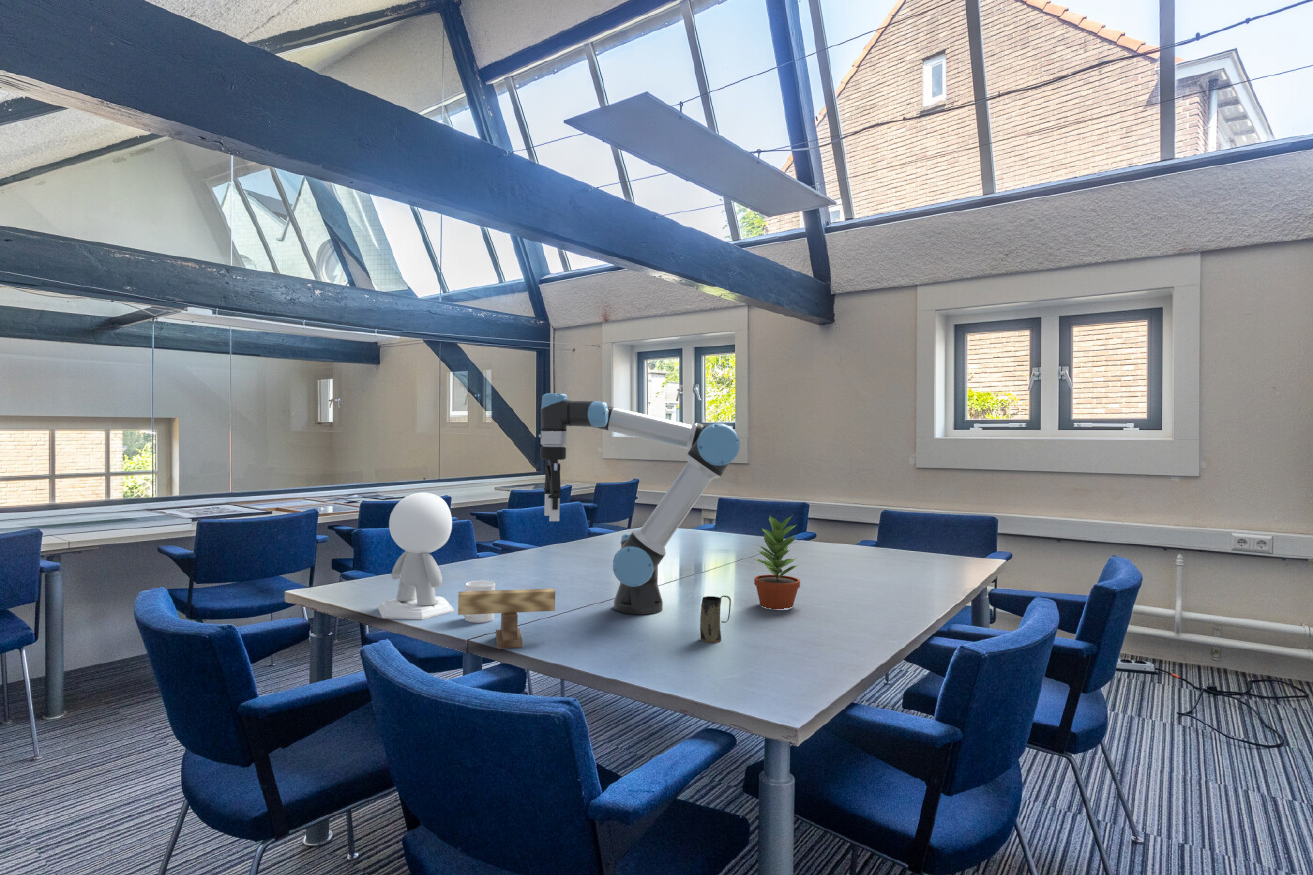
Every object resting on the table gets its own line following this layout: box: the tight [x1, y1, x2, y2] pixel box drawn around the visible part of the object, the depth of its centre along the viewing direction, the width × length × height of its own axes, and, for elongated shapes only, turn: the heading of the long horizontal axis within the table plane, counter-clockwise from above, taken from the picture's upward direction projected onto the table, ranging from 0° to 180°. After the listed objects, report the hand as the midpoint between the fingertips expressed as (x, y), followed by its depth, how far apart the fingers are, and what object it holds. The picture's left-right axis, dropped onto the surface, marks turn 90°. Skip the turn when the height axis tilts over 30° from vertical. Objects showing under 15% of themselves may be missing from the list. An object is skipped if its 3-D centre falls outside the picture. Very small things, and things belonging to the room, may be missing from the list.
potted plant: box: [753, 515, 801, 609], centre depth 221 cm, size 15×15×30 cm
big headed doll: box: [377, 492, 455, 621], centre depth 206 cm, size 20×23×35 cm
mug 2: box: [699, 595, 732, 644], centre depth 183 cm, size 8×6×12 cm
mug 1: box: [463, 580, 496, 624], centre depth 196 cm, size 12×8×10 cm
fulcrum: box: [495, 612, 523, 650], centre depth 177 cm, size 6×10×8 cm, turn 15°
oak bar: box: [457, 588, 556, 616], centre depth 176 cm, size 24×4×5 cm, turn 105°
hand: (551, 518), depth 203 cm, fingers open, 13 cm apart
